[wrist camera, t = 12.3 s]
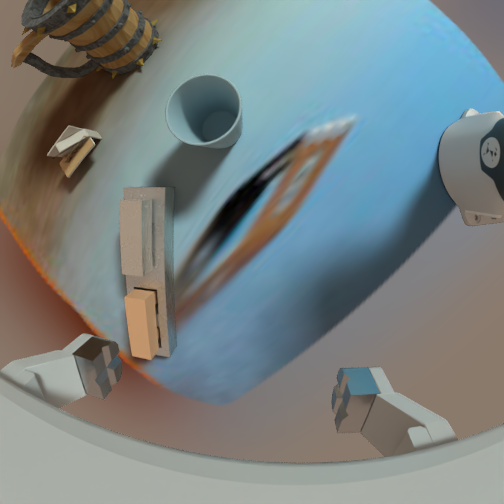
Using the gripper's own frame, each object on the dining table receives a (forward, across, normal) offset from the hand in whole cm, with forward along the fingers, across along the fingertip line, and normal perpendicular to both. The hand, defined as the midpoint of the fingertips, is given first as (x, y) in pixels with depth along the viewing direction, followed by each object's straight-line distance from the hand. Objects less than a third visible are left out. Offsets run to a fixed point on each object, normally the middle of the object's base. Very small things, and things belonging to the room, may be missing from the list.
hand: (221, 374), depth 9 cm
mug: (+29, +24, -28) cm, 47 cm away
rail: (+29, +15, +6) cm, 33 cm away
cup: (+29, +6, -14) cm, 33 cm away
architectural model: (+30, +28, -12) cm, 42 cm away
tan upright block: (+29, +15, +12) cm, 35 cm away
